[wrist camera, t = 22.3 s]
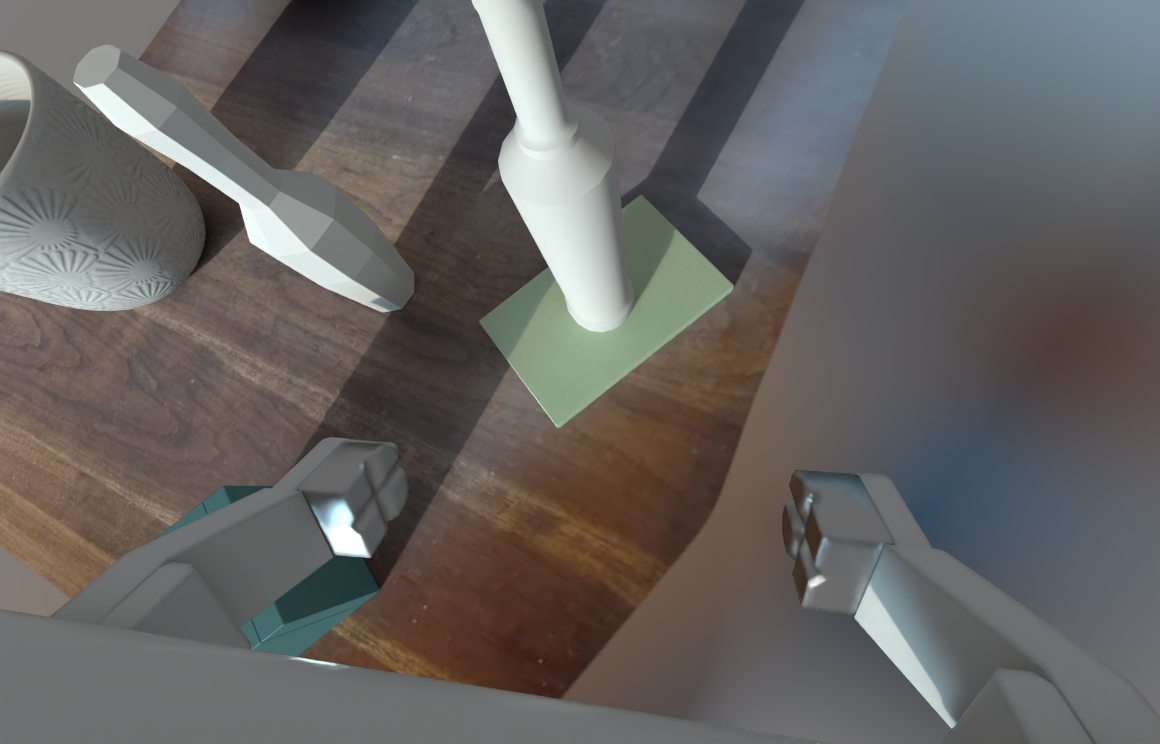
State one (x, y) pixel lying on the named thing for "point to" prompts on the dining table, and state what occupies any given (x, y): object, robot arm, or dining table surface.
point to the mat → (600, 359)
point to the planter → (85, 203)
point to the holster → (297, 591)
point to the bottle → (560, 169)
